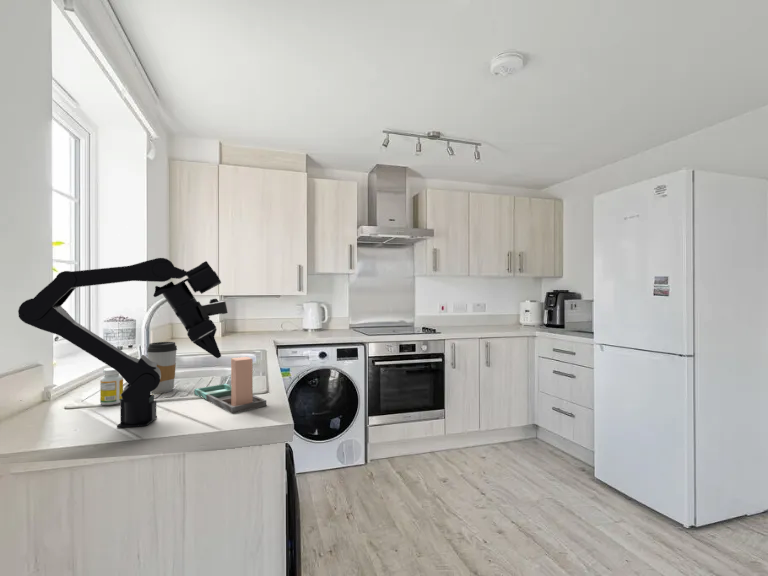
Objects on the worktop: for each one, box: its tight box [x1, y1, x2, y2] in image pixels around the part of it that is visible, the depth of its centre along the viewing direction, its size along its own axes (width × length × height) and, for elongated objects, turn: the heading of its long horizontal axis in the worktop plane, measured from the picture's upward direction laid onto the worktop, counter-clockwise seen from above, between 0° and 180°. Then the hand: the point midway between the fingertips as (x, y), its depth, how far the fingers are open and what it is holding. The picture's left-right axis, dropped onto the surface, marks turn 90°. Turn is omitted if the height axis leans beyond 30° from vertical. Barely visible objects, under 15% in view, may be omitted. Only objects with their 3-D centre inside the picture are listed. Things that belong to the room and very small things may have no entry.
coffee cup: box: [146, 341, 178, 394], centre depth 127 cm, size 8×8×15 cm
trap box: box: [194, 383, 267, 414], centre depth 117 cm, size 27×10×2 cm, turn 44°
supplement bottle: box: [99, 367, 124, 406], centre depth 114 cm, size 5×5×10 cm
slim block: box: [230, 356, 254, 406], centre depth 110 cm, size 4×4×13 cm
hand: (217, 354), depth 104 cm, fingers open, 9 cm apart
